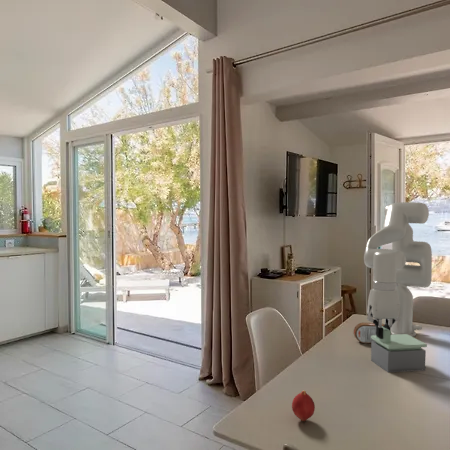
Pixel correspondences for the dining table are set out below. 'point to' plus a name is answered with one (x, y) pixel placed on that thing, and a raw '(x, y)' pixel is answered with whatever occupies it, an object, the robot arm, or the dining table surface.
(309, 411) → the onion
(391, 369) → the tub
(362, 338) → the tin
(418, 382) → the dining table surface
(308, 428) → the dining table surface
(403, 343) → the lid
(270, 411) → the dining table surface
